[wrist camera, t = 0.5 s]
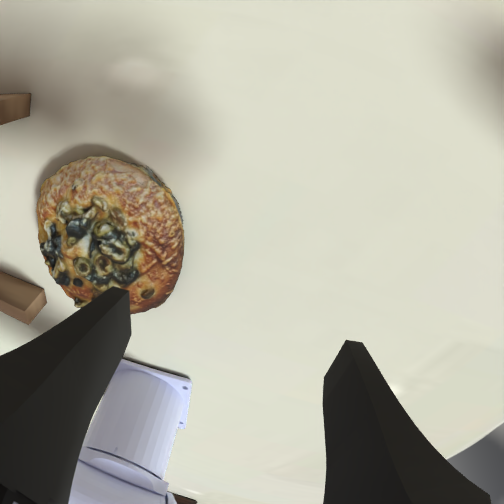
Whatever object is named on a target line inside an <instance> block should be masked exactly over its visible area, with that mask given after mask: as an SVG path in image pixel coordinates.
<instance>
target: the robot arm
mask: <svg viewBox="0 0 504 504" xmlns="http://www.w3.org/2000/svg"><path fill="white" fill-rule="evenodd" d="M130 336H131V318H130V293H129V290H125V289H122V288H118V287H115V286H112V287H111V288H109V289H108V290H106V291H105V292H103V293H102V294H101V295H99V296H98V297H96V298H95V299H94V300H92V301H91V302H89V303H88V304H87V305H85V306H84V307H82V308H81V309H80V310H78V311H77V312H75V313H74V314H72V315H71V316H69V317H68V318H67V319H65V320H64V321H62V322H61V323H59V324H58V325H56V326H54V327H53V328H51V329H50V330H48V331H47V332H45V333H43V334H42V335H40V336H39V337H37V338H35V339H33V340H32V341H30V342H28V343H26V344H24V345H22V346H20V347H18V348H17V349H15V350H12V351H10V352H8V353H6V354H3V355H1V356H0V504H177V502H176V501H175V499H174V496H173V494H172V493H170V492H167V489H168V485H169V483H168V482H165V481H163V480H164V476H165V472H166V469H167V465H168V461H169V458H170V454H171V450H172V447H173V443H174V439H175V436H176V432H177V428H180V429H185V427H186V421H187V414H188V408H189V401H190V394H191V388H192V381H191V380H190V379H187V378H184V377H180V376H176V375H173V374H169V373H166V372H162V371H159V370H156V369H152V368H149V367H146V366H143V365H140V364H137V363H133V362H130V361H127V360H124V359H122V357H123V355H124V352H125V350H126V347H127V344H128V342H129V339H130ZM108 384H109V386H108ZM107 386H108V388H107ZM106 388H107V390H106ZM105 390H106V392H105ZM104 392H105V394H104ZM103 394H104V396H103ZM102 396H103V398H102ZM101 398H102V400H101ZM100 400H101V403H100V405H99V407H98V409H97V411H96V413H95V416H94V418H93V420H92V422H91V425H90V427H89V424H90V421H91V419H92V416H93V414H94V412H95V410H96V408H97V406H98V404H99V402H100ZM323 416H324V430H325V444H326V482H325V494H324V502H323V504H491V500H490V495H489V494H488V493H486V492H485V491H483V490H482V489H480V488H479V487H477V486H476V485H475V484H473V483H472V482H471V481H469V480H468V479H467V478H466V477H464V476H463V475H462V474H461V473H460V472H459V471H457V470H456V469H455V468H454V467H453V466H452V465H451V464H450V463H449V462H448V461H447V460H446V459H445V458H444V457H443V456H442V455H441V454H440V453H439V452H438V451H437V450H436V449H435V448H434V447H433V446H432V445H431V443H430V442H429V441H428V440H427V439H426V438H425V436H424V435H423V434H422V433H421V431H420V430H419V429H418V428H417V426H416V425H415V424H414V422H413V421H412V420H411V418H410V417H409V416H408V414H407V413H406V411H405V410H404V408H403V407H402V405H401V404H400V403H399V401H398V399H397V398H396V396H395V395H394V393H393V392H392V390H391V389H390V387H389V385H388V384H387V382H386V380H385V379H384V377H383V376H382V374H381V372H380V371H379V369H378V367H377V366H376V364H375V362H374V361H373V359H372V357H371V356H370V354H369V352H368V351H367V349H366V347H365V346H364V344H363V343H362V342H356V341H350V340H346V341H345V343H344V344H343V346H342V348H341V350H340V351H339V353H338V355H337V356H336V358H335V360H334V362H333V363H332V365H331V367H330V368H329V370H328V372H327V373H326V375H325V376H324V386H323ZM88 427H89V429H88ZM87 430H88V431H87ZM86 433H87V434H86Z"/></svg>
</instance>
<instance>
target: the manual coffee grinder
mask: <svg viewBox="0 0 504 504" xmlns="http://www.w3.org/2000/svg"><path fill="white" fill-rule="evenodd" d="M167 492H168V491H167ZM170 493H171V492H170ZM172 494H173V496H174V499H175V501H176V502H177V504H197V501H195V500H192V499H189V498H186V497H183V496H180V495H177V494H174V493H172Z"/></svg>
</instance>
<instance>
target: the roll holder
mask: <svg viewBox="0 0 504 504" xmlns="http://www.w3.org/2000/svg"><path fill="white" fill-rule="evenodd" d="M30 99H31V94H0V125H3V124H6V123H9V122H12V121H15V120H18V119H21V118H25V117H28V116H30ZM46 303H47V301H46V296H45V292H44V289H42V288H40V287H37V286H35V285H32V284H30V283H27V282H25V281H22V280H20V279H18V278H15V277H13V276H11V275H8V274H6V273H4V272H2V271H0V311H2V312H4V313H5V314H7V315H9V316H11V317H13V318H15V319H17V320H19V321H22V322H24V323H26V324H28V325H29V324H30V323H31V322H32V320H33V319H34V318H35V317H36V315H37V314H38V313H39V312H40V310H41V309H42V308H43V307H44V306H45V304H46Z"/></svg>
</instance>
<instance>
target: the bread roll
mask: <svg viewBox="0 0 504 504" xmlns="http://www.w3.org/2000/svg"><path fill="white" fill-rule="evenodd" d="M40 192H41V195H40V198H39V199H38V202H37V208H36V212H37V216H38V228H39V233H38V239H39V243H40V250H41V252H42V254H43V257H44V259H45V264H46V265H48V268H49V273H50V275H51V276H52V277H53V278H54V280H55V281H56V283H57V284H59V285H60V286H61V287H62V289H63V290H64V292H65V293H66V294H67V296H69V297H71V298H72V299H73V300H74V301H75V305H74V306H75V307H77V308H79V307H80V308H82V307H84V306H85V305H87V304H88V303H89V302H91V301H92V300H94V299H95V298H96V297H98V296H99V295H101V294H102V293H103V292H105V291H106V290H108V289H109V288H111V287H112V286H115V287H118V288H122V289H125V290H129V293H130V314H136V313H140V312H146V311H148V310H149V309H151V308H156V307H158V306H160V305H161V304H163V303H164V302H165V301H166V299H167V298H168V297H169V296H170V294H171V293H172V292H173V290H174V287H175V284H176V282H177V280H178V277H179V274H180V271H181V268H182V260H183V256H184V230H183V225H182V224H183V219H182V216H181V211H180V208H179V205H178V204H179V203H178V202H177V200H176V199H175V197H173V195H172V194H171V193H172V191H171V190H170V189H169V188H166V187H165V184H164V183H161V182H160V181H159V180H158V179H157V177H156V176H155V175H154V173H153V172H152V170H150V169H149V167H147V166H146V169H145V168H144V167H143V166H140V167H138V166H136V165H135V164H129V163H125V162H123V161H121V160H117V159H112V158H109V157H106V156H101V157H90V156H89V157H87V158H86V159H84V160H81V159H79V160H78V161H75V162H70V163H69V164H68V165H64V166H63V167H61V169H60V170H58V171H57V172H56V175H53V176H51V177H50V178H48V179H46V180H45V181H44V183H43V184H42V187H41V189H40Z"/></svg>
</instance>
